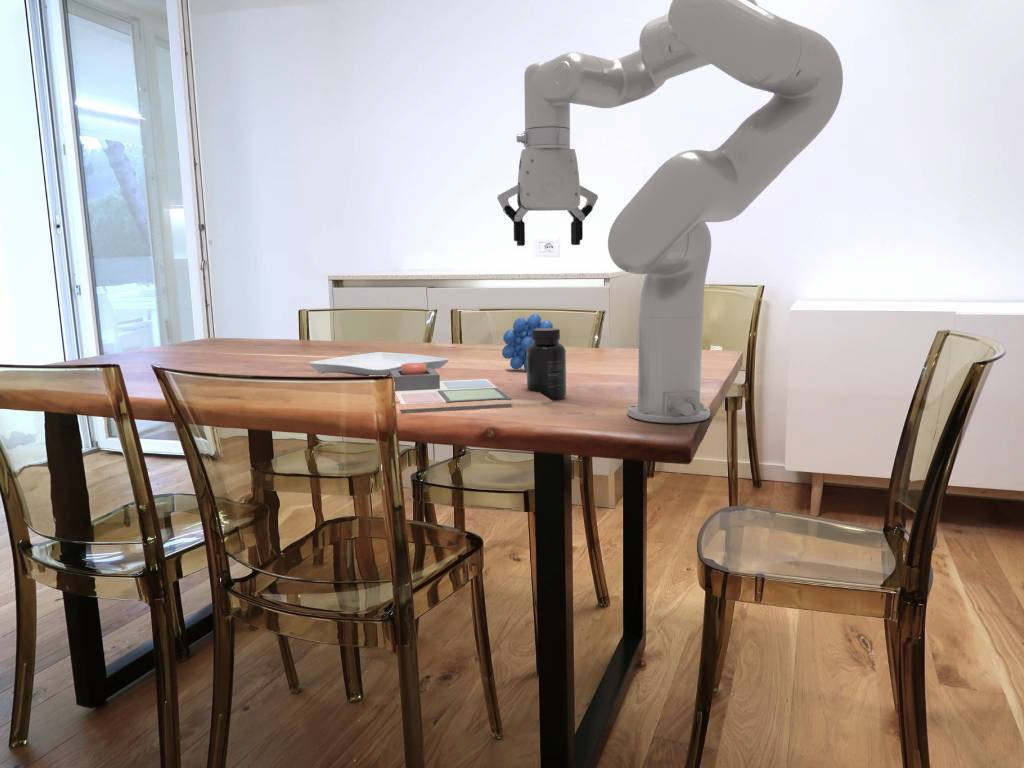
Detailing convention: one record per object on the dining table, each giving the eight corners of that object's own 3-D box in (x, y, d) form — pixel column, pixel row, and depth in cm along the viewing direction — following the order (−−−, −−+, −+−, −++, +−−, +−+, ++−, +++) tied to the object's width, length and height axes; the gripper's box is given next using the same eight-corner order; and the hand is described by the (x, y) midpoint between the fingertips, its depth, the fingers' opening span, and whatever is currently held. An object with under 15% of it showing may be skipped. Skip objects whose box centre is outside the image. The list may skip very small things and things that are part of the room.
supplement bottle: (566, 394, 148) (567, 327, 146) (565, 401, 141) (565, 331, 139) (528, 393, 149) (528, 327, 147) (525, 400, 142) (524, 331, 140)
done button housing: (439, 388, 145) (439, 374, 145) (394, 391, 143) (393, 376, 143) (433, 381, 153) (433, 368, 153) (389, 383, 151) (389, 370, 151)
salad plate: (379, 364, 187) (378, 349, 186) (451, 372, 175) (451, 356, 174) (306, 377, 170) (305, 361, 169) (381, 387, 158) (380, 369, 157)
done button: (428, 377, 146) (427, 365, 146) (403, 378, 145) (402, 366, 145) (424, 373, 150) (424, 362, 150) (400, 374, 149) (400, 363, 149)
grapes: (560, 368, 177) (560, 312, 175) (554, 373, 170) (554, 315, 168) (506, 367, 179) (506, 311, 177) (499, 372, 173) (498, 314, 171)
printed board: (512, 408, 136) (512, 398, 135) (402, 414, 131) (402, 404, 131) (486, 386, 156) (486, 378, 155) (390, 391, 151) (389, 382, 151)
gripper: (501, 138, 133) (503, 246, 136) (604, 139, 137) (603, 244, 139) (492, 143, 140) (494, 246, 143) (590, 144, 144) (590, 244, 147)
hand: (548, 245), depth 141 cm, fingers open, 9 cm apart
